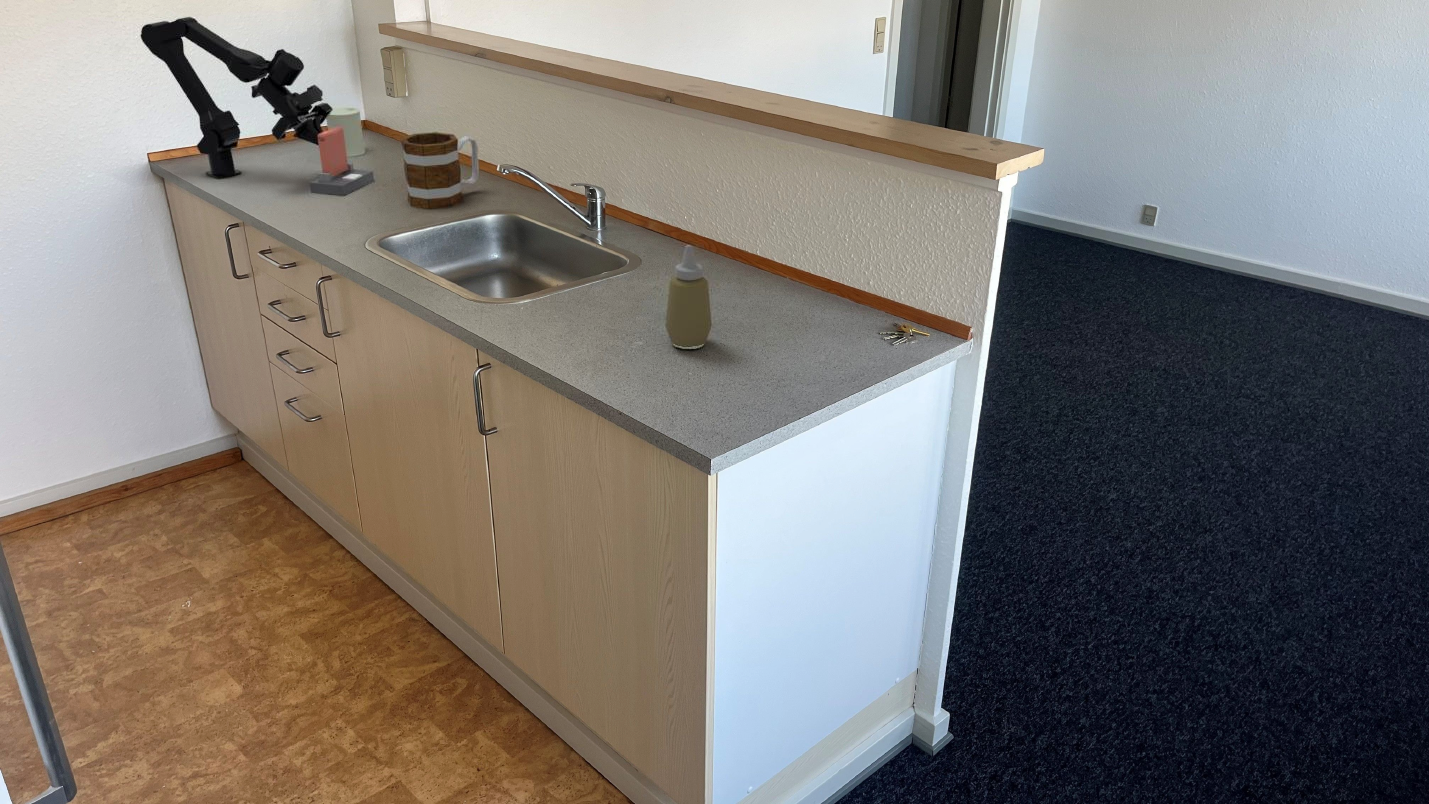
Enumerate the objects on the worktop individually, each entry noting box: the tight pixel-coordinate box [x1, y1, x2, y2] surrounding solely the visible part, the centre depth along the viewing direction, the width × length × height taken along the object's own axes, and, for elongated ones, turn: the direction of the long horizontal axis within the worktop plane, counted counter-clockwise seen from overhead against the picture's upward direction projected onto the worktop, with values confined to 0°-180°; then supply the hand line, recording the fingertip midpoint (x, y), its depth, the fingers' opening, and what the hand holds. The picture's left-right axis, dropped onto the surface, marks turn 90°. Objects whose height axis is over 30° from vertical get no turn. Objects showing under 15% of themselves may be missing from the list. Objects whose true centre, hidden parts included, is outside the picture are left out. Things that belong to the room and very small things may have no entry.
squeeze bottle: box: [664, 244, 713, 347], centre depth 181 cm, size 8×8×18 cm
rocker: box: [318, 126, 349, 177], centre depth 261 cm, size 2×8×11 cm, turn 165°
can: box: [325, 107, 366, 158], centre depth 291 cm, size 9×9×12 cm
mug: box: [400, 131, 480, 210], centre depth 254 cm, size 20×14×15 cm
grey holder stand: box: [309, 162, 375, 197], centre depth 264 cm, size 9×14×4 cm, turn 165°
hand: (328, 147), depth 261 cm, fingers closed, pressing on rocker
